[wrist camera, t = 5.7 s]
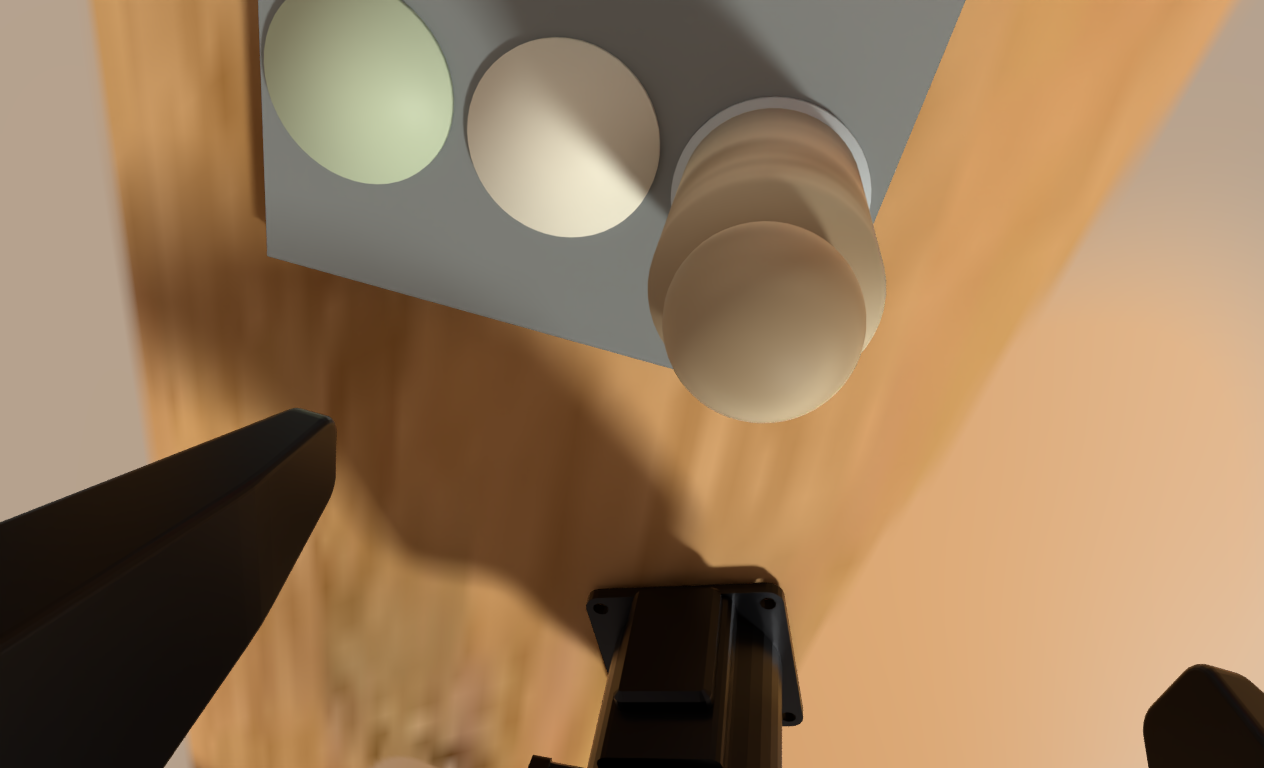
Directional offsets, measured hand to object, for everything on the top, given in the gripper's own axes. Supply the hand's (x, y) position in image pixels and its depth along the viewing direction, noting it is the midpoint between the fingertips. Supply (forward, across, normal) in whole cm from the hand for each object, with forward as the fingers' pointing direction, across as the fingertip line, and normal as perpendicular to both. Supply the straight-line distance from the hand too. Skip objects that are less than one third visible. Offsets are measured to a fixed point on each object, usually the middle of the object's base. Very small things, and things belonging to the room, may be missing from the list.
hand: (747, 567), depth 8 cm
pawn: (+11, 0, 0) cm, 11 cm away
